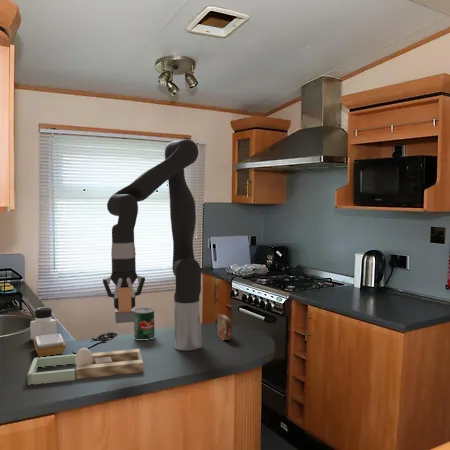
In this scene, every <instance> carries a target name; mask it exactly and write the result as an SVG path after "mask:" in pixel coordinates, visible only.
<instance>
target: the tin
mask: <svg viewBox="0 0 450 450" xmlns="http://www.w3.org/2000/svg"><path fill="white" fill-rule="evenodd" d="M214 324H215V326H214V327H215V332H216V335H217V337H219V339H221V340H222V341H230V340H231V338H232V334H233V333H232V331H233V330H232V329H233V324H232V320H231V319H230V318H229V317H228V316H226V315H225V314H221V313H220V314H219V313H218V314H216V317H215V323H214Z"/></svg>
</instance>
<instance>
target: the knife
mask: <svg viewBox="0 0 450 450" xmlns="http://www.w3.org/2000/svg"><path fill="white" fill-rule="evenodd" d="M114 336H115V337H117V336H118V334H117V333H116V332H112V331H110V332H107V333H103V334H100V335H98V336H97V337H96V338H94V337H92V338H91V341H92V340H94V341H97V339H98V341H104V342H107V339H109V338H112V337H114ZM115 337H114V338H115ZM112 339H113V338H112Z"/></svg>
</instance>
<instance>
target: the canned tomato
mask: <svg viewBox="0 0 450 450" xmlns="http://www.w3.org/2000/svg"><path fill="white" fill-rule="evenodd" d="M134 311H135V322H133V325H134V326H133V328H134V329H133V333H134V337H135V338H136V339H150V338H153V337H154V336H155V334H156V332H155V309H154V308H152V307H142V308H141V307H140V308H135V309H134ZM134 337H133V338H134Z"/></svg>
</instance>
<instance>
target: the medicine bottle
mask: <svg viewBox="0 0 450 450" xmlns="http://www.w3.org/2000/svg"><path fill="white" fill-rule="evenodd" d="M52 313H53V312H52V308H50V307H48V306H47V307H46V306H45V307H39V308H36V309H35V310H34V319H35V320H30V325H29V327H30V328H29V329H30V339H31V340H33V341H34V340H35V339H36V337H37V336H43V335H51V334H58V320H57V319H54V318H53V317H52V316H53V315H52Z"/></svg>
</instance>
